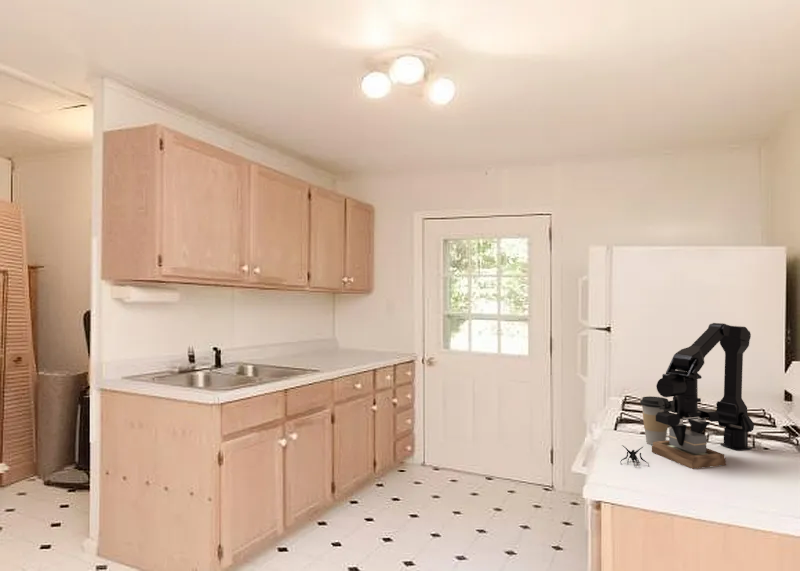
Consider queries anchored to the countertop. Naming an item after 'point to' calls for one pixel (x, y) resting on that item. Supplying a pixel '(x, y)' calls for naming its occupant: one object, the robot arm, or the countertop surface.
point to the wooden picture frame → (688, 455)
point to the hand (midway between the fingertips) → (687, 444)
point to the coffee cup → (653, 420)
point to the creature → (633, 456)
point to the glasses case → (689, 441)
